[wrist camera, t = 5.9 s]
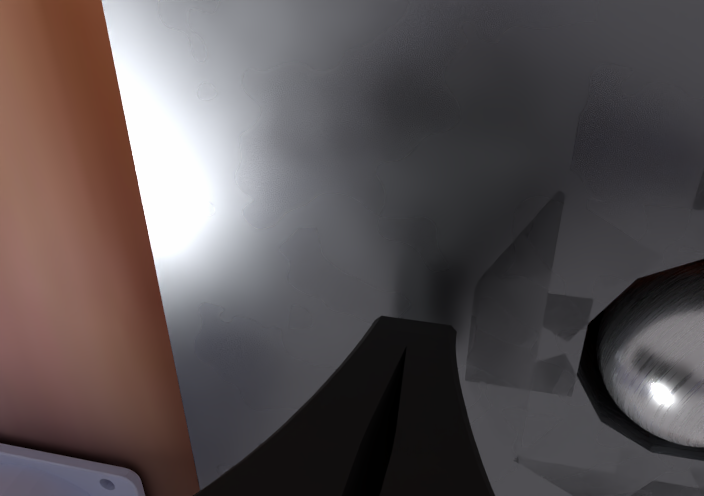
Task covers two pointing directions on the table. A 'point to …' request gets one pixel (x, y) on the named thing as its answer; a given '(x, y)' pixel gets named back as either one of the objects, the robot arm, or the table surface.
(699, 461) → the hole plate
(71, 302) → the table surface
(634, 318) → the steel ball
